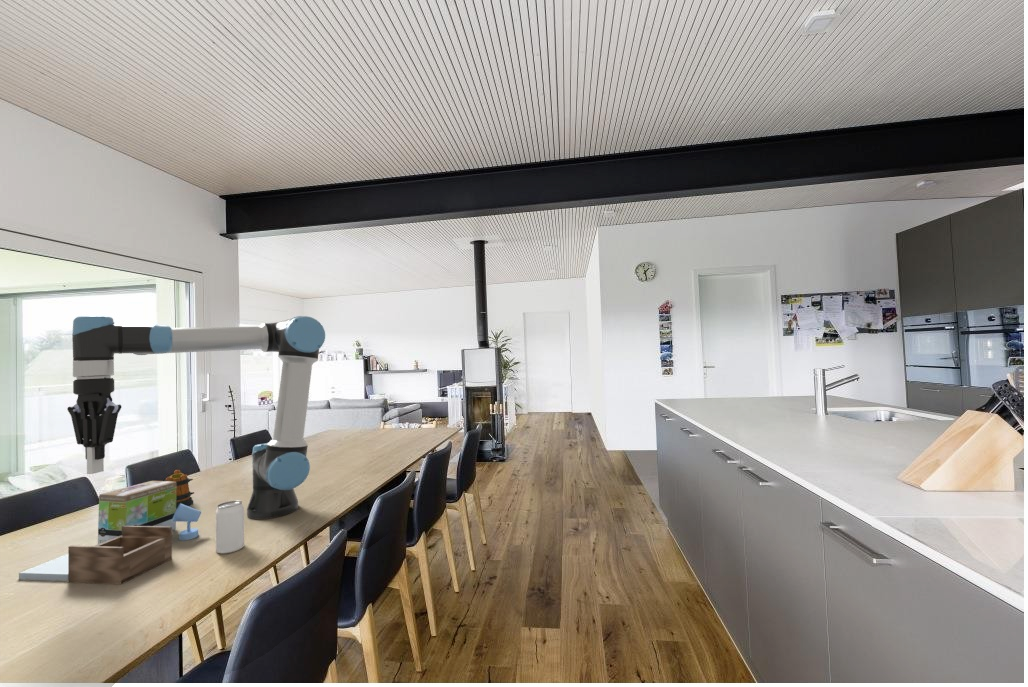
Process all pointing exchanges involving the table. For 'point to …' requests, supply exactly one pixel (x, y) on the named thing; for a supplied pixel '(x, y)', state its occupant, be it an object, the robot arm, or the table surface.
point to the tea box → (136, 508)
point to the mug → (181, 488)
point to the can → (229, 527)
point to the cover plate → (48, 570)
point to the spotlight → (187, 520)
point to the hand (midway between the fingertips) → (95, 472)
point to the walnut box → (121, 556)
